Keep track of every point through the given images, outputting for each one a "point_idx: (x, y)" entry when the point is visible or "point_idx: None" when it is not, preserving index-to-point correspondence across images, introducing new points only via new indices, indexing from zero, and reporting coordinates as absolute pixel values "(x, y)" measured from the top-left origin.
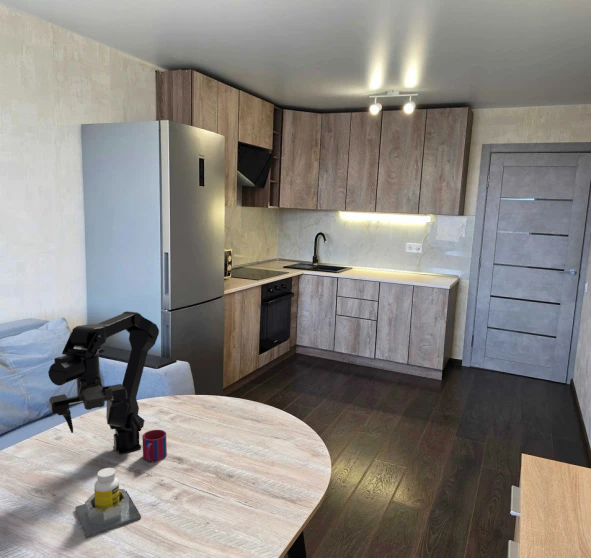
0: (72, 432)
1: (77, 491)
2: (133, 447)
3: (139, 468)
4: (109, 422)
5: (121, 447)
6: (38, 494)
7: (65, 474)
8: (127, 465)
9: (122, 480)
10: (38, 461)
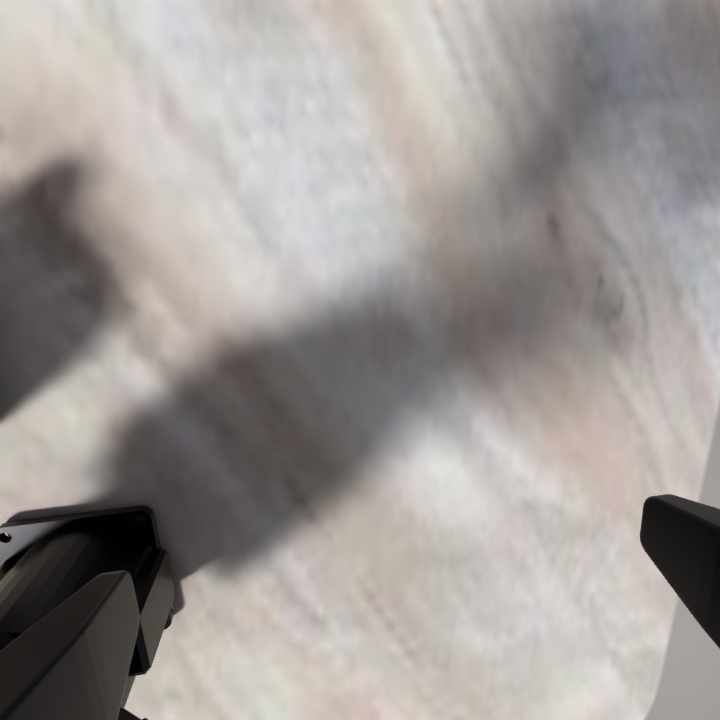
0: (660, 496)
1: (444, 191)
2: (47, 537)
3: (37, 269)
4: (83, 591)
5: (126, 553)
6: (616, 275)
7: (468, 415)
8: (117, 350)
9: (171, 168)
10: (554, 597)
